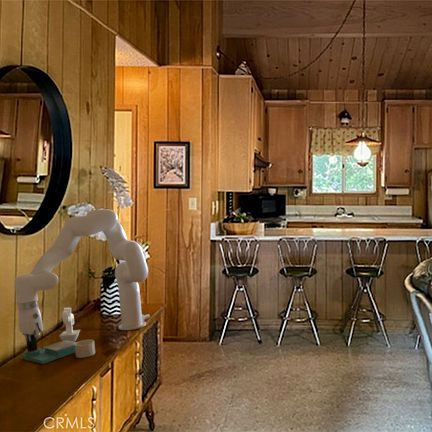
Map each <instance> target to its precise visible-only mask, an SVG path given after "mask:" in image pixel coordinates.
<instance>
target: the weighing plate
mask: <svg viewBox="0 0 432 432" xmlns="http://www.w3.org/2000/svg"><path fill="white" fill-rule="evenodd" d="M77 342H78V341H75V342H73V341H68V340H64V341H62V340H61V341H58V342H55V343H52V344H49V345H45V346H43V347H42V349H44V350H45V352H46V353H50V354H54V355H58V359H61V358H63V357H67V356H69V355H72V354H75V345H74V344H75V343H77Z"/></svg>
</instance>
